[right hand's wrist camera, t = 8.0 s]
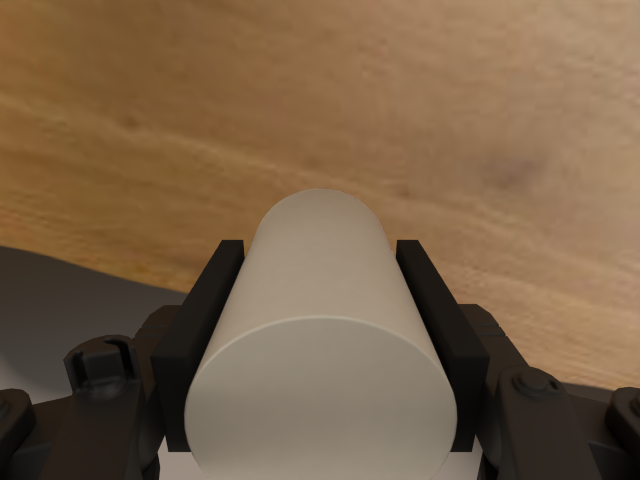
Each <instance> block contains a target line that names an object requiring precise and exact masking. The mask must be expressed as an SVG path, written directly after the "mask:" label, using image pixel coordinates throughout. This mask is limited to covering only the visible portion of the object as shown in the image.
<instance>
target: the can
mask: <svg viewBox="0 0 640 480" xmlns="http://www.w3.org/2000/svg"><path fill="white" fill-rule="evenodd" d="M184 425H185V432H186V437H187V442H188V445H189V447H190V450H191V452H192V455H193V456H194V458H195V460H196V462H197V463H198V465H199V467H200V468H201V469H202V470H203V472H204V473H205V474H206V475H207V477H208V478H209V479H210V480H431V479H432V478H433V477H434V476H435V474H436V473H437V472H438V471H439V469H440V468H441V466H442V465H443V464H444V462H445V460H446V459H447V457H448V455H449V452H450V450H451V448H452V445H453V442H454V438H455V435H456V426H457V406H456V402H455V398H454V393H453V391H452V388H451V386H450V384H449V381H448V379H447V376H446V374H445V372H444V370H443V367H442V365H441V363H440V360H439V358H438V356H437V353H436V351H435V349H434V346H433V344H432V342H431V339H430V337H429V335H428V332H427V330H426V328H425V325H424V323H423V321H422V318H421V316H420V314H419V311H418V309H417V307H416V305H415V302H414V300H413V298H412V295H411V293H410V291H409V288H408V286H407V284H406V281H405V279H404V277H403V274H402V272H401V270H400V267H399V265H398V263H397V260H396V258H395V256H394V253H393V251H392V249H391V246H390V244H389V242H388V239H387V237H386V235H385V233H384V230H383V228H382V226H381V223H380V222H379V220H378V218H377V217H376V215H375V214H374V213H373V212H372V210H371V209H370V208H369V207H367V206H366V205H365V204H364V203H363V202H361V201H360V200H359V199H357V198H355V197H353V196H351V195H349V194H347V193H344V192H341V191H337V190H333V189H324V188H319V189H308V190H303V191H300V192H296V193H294V194H292V195H289V196H287V197H285V198H284V199H282V200H281V201H279V202H278V203H277V204H275V205H274V206H273V207H272V208H271V209H270V210H269V211H268V212H267V213H266V215H265V216H264V218H263V219H262V221H261V223H260V225H259V227H258V229H257V231H256V234H255V236H254V238H253V241H252V243H251V245H250V248H249V250H248V252H247V255H246V257H245V259H244V262H243V264H242V266H241V269H240V271H239V274H238V276H237V278H236V281H235V283H234V285H233V288H232V290H231V292H230V295H229V297H228V299H227V302H226V304H225V306H224V309H223V311H222V313H221V316H220V318H219V320H218V323H217V325H216V327H215V330H214V332H213V334H212V337H211V339H210V341H209V344H208V346H207V348H206V351H205V353H204V355H203V358H202V360H201V362H200V365H199V367H198V369H197V372H196V374H195V376H194V379H193V381H192V383H191V386H190V389H189V392H188V395H187V398H186V403H185V410H184Z"/></svg>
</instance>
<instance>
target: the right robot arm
mask: <svg viewBox="0 0 640 480" xmlns="http://www.w3.org/2000/svg"><path fill="white" fill-rule="evenodd" d="M244 259H245V257H244V244H243V240H222V241H221V243H220V244H219V246H218V248H217V249H216V251H215V252H214V254H213V256H212V257H211V259H210V261H209V262H208V264H207V265H206V267H205V269H204V270H203V272H202V273H201V275H200V277H199V278H198V280H197V281H196V283H195V285H194V286H193V288H192V290H191V291H190V293H189V294H188V296H187V298H186V299H185V301H184V302H183V304H182V305H164V306H162V307H161V308H159V309H158V310H156V311H155V312H153V313H152V314H150V315H149V317H148V318H147V320H146V321H145V322H144V324H143V325H142V328H140V329H139V330H138V332H137V333H136V335H135V338H133V339H131V338H129V337H127V336H123V335H106V336H102V337H98V338H93V339H91V340H89V341H86V342H84V343H82V344H80V345H78V346H77V347H76V348H74V349H73V350H71V351H70V352H69V353H68V354H67V356H66V357H65V358H64V360H63V361H64V364H65V367H66V371H67V374H68V377H69V381H70V384H71V388H72V391H73V393H72V396H68V397H65V398H61V399H56V400H52V401H47V402H43V403H38V404H34V405H32V403H31V400H30V397H29V394H27V393H26V392H25V391H23V390H20V389H5V390H0V480H159V474H160V463H159V457H158V453H157V452H158V449H159V447H160V445H161V443H162V440H163V438H164V436H165V437H166V442H167V447H168V452H191V450H190V447H189V445H188V442H187V437H186V432H185V425H184V410H185V403H186V398H187V395H188V392H189V389H190V386H191V383H192V381H193V379H194V376H195V374H196V372H197V369H198V367H199V365H200V362H201V360H202V358H203V355H204V353H205V351H206V348H207V346H208V344H209V341H210V339H211V337H212V334H213V332H214V330H215V327H216V325H217V323H218V320H219V318H220V316H221V313H222V311H223V309H224V306H225V304H226V302H227V299H228V297H229V295H230V292H231V290H232V288H233V285H234V283H235V281H236V278H237V276H238V274H239V271H240V269H241V266H242V264H243V262H244ZM396 260H397V263H398V265H399V267H400V270H401V272H402V274H403V277H404V279H405V281H406V284H407V286H408V288H409V291H410V293H411V295H412V298H413V300H414V302H415V305H416V307H417V309H418V311H419V314H420V316H421V318H422V321H423V323H424V325H425V328H426V330H427V332H428V335H429V337H430V339H431V342H432V344H433V346H434V349H435V351H436V353H437V356H438V358H439V360H440V363H441V365H442V367H443V370H444V372H445V374H446V376H447V379H448V381H449V384H450V386H451V388H452V391H453V393H454V398H455V402H456V406H457V426H456V435H455V438H454V442H453V445H452V448H451V450H450V452H472V448H473V443H474V438H475V433H476V436H477V438H478V440H479V442H480V445H481V447H482V449H483V453H482V457H481V462H480V467H479V472H478V477H477V480H640V388H633V387H624V388H618V389H617V390H615V391H614V392H613V393H612V395H611V398H610V401H609V403H605V402H601V401H596V400H591V399H587V398H582V397H578V396H574V395H571V394H568V393H567V391H566V389H565V388H564V387H563V385H562V384H561V382H559V381H558V380H557V379H556V378H554V377H553V376H552V375H550V374H548V373H546V372H544V371H542V370H540V369H537V368H534V367H530V366H529V365H528V364H527V362H526V361H525V360H524V358H523V357H522V356H521V354H520V353H519V352H518V350H517V349H516V347H515V346H514V345H513V343H512V342H511V341H510V339H509V338H508V337H507V336H506V335H505V333H504V331H503V330H502V328H501V327H499V324H498V323H497V322H496V320H495V319H494V318H493V316H492V315H491V314H490V313H489V312H487V311H486V310H484V309H483V308H482V307H480V306H479V305H477V304H457V302H456V300H455V299H454V297H453V296H452V294H451V292H450V291H449V289H448V287H447V286H446V284H445V283H444V281H443V279H442V278H441V276H440V275H439V273H438V271H437V270H436V268H435V267H434V265H433V263H432V262H431V260H430V259H429V257H428V255H427V254H426V252H425V250H424V249H423V247H422V246H421V244H420V242H419V241H418V240H397V248H396Z"/></svg>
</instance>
